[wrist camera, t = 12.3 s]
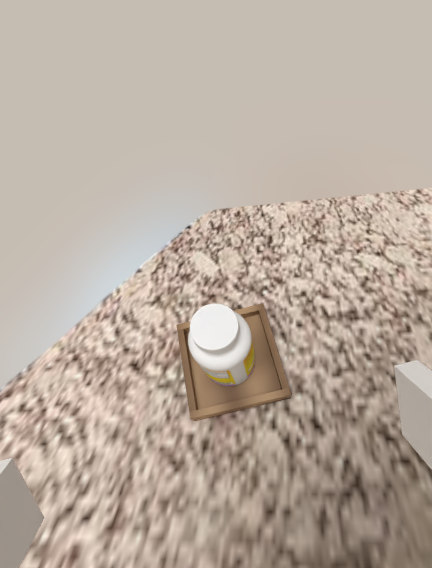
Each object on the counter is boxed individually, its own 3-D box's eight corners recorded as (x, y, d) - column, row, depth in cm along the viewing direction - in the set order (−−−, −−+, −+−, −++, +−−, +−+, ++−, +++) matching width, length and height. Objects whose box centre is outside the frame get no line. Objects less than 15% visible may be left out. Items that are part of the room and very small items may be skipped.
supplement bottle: (240, 327, 42) (230, 282, 31) (265, 371, 39) (263, 338, 28) (195, 350, 42) (169, 313, 31) (217, 397, 39) (196, 374, 27)
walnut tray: (263, 310, 44) (263, 303, 42) (290, 398, 38) (291, 394, 36) (181, 331, 45) (176, 324, 42) (195, 421, 39) (190, 419, 36)
